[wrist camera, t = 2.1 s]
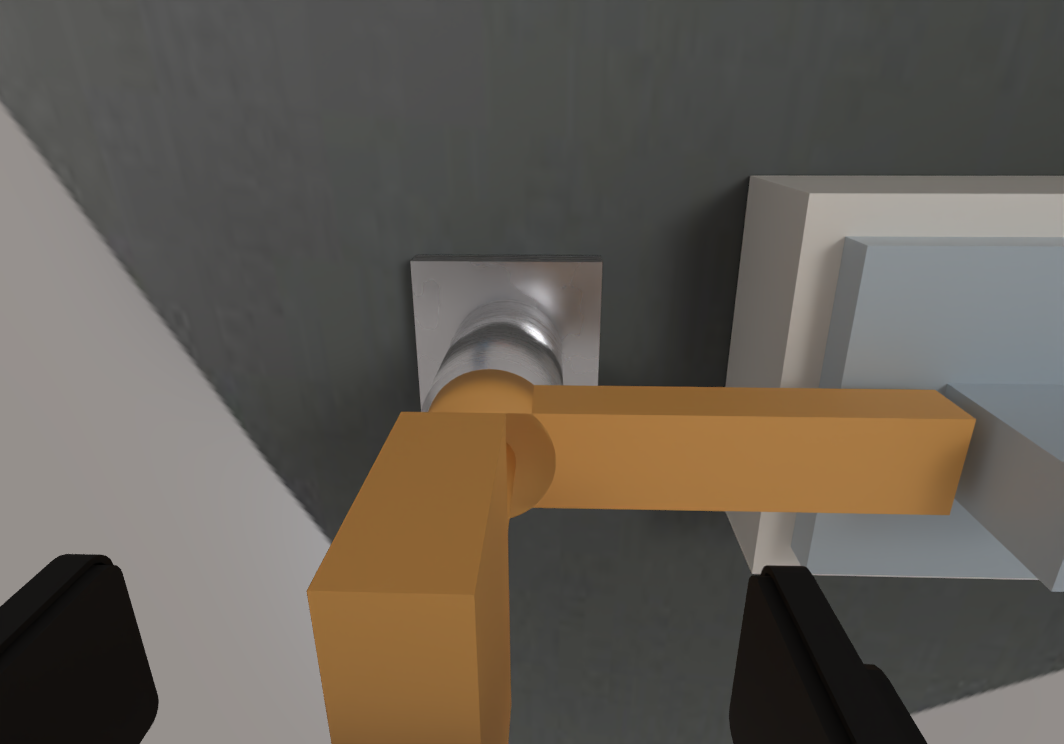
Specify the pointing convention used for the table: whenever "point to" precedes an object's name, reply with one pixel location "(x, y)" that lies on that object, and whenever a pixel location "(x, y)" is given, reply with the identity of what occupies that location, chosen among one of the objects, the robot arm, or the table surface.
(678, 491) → the latch
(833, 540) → the cover
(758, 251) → the housing
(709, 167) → the table surface
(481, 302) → the grey square flange base
